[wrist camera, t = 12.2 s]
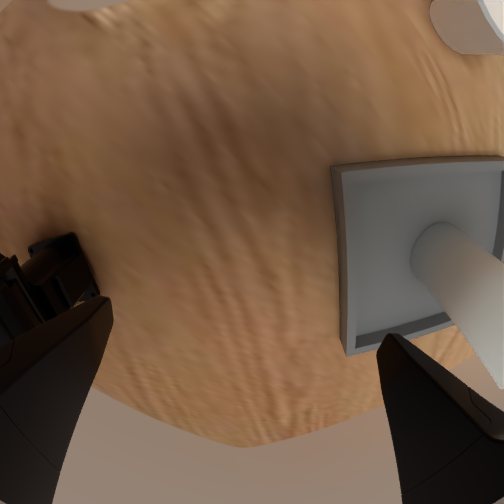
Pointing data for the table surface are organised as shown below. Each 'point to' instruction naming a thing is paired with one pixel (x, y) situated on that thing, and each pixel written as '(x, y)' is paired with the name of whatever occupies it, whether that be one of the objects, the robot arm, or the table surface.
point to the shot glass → (470, 25)
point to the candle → (465, 289)
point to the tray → (405, 237)
